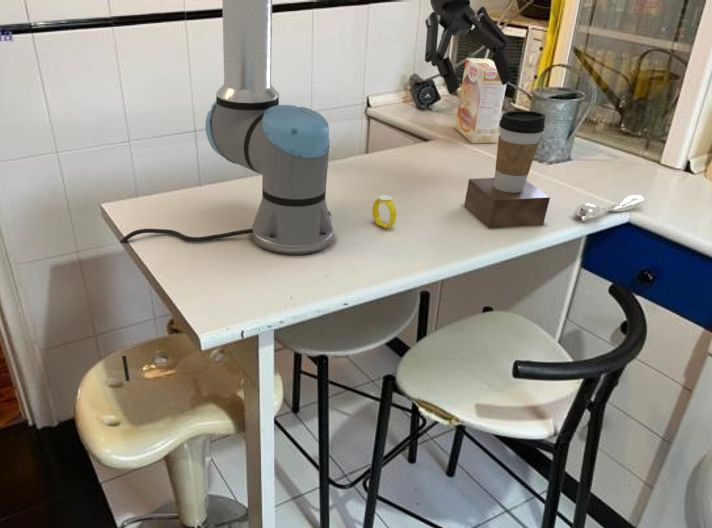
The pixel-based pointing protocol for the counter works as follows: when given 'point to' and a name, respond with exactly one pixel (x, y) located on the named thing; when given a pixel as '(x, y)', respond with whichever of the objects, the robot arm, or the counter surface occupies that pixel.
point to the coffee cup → (517, 148)
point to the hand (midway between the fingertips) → (481, 86)
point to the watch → (392, 210)
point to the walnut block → (506, 204)
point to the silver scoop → (591, 210)
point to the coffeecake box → (480, 101)
